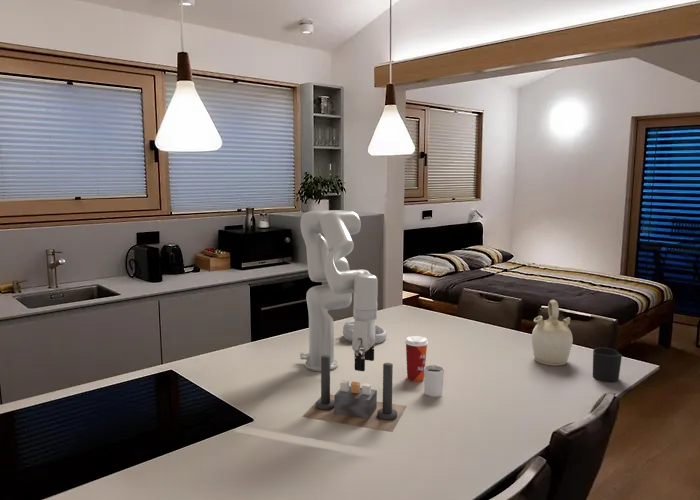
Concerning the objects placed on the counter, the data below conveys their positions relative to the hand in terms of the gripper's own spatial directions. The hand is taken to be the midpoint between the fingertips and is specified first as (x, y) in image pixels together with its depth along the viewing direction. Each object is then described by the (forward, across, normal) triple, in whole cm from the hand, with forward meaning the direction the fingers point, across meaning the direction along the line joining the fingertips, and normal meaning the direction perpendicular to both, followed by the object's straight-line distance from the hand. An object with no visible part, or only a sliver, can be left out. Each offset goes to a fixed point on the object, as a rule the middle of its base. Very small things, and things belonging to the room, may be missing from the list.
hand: (364, 365), depth 170 cm
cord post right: (+12, +9, +10) cm, 18 cm away
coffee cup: (+13, -27, +11) cm, 32 cm away
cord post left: (+12, +9, -10) cm, 18 cm away
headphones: (+14, -66, -21) cm, 70 cm away
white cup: (+13, -13, +20) cm, 27 cm away
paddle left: (+6, +9, -3) cm, 11 cm away
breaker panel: (+13, +9, 0) cm, 16 cm away
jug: (+13, -65, +58) cm, 88 cm away
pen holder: (+13, -52, +76) cm, 94 cm away
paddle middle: (+6, +9, 0) cm, 11 cm away
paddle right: (+6, +9, +4) cm, 11 cm away
